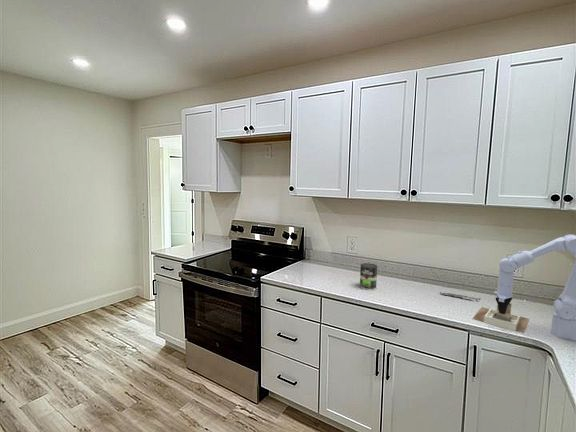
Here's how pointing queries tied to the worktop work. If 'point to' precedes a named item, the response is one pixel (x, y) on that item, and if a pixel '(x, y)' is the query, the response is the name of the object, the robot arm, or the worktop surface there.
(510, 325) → the cream square tray
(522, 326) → the board
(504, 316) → the tall bronze block
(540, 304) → the worktop surface
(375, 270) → the coffee can
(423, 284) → the worktop surface
